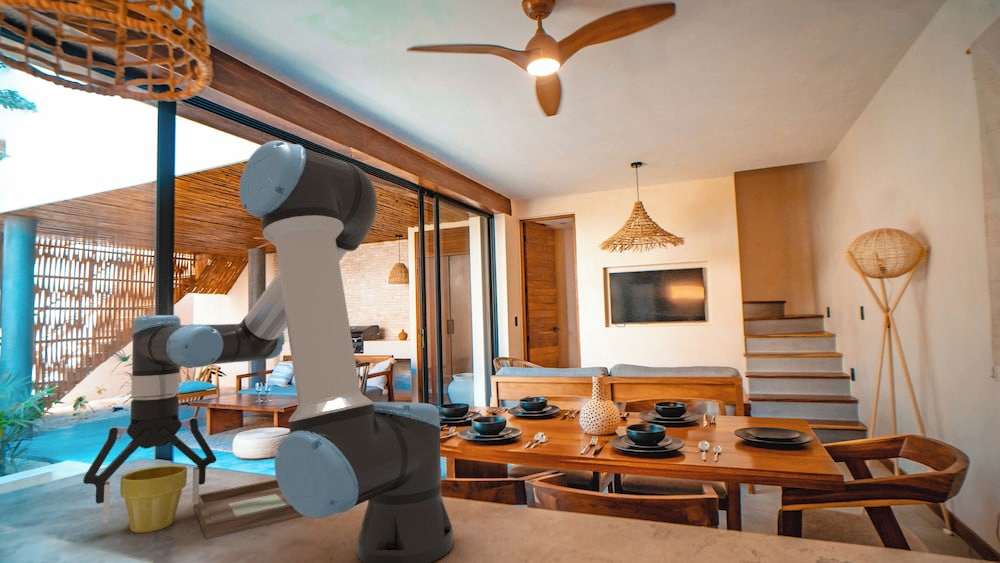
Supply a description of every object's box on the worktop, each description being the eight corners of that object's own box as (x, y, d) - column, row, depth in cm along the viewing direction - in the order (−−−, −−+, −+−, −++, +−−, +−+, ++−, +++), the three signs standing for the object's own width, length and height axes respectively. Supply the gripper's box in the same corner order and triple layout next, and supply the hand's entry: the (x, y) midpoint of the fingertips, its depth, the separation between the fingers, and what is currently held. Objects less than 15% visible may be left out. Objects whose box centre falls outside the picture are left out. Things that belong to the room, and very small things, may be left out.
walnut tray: (323, 510, 100) (323, 498, 100) (206, 539, 88) (206, 524, 88) (295, 486, 116) (295, 475, 116) (193, 507, 104) (193, 495, 104)
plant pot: (198, 515, 100) (199, 464, 100) (158, 537, 89) (159, 480, 90) (149, 515, 101) (150, 464, 101) (103, 537, 90) (105, 480, 91)
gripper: (226, 387, 107) (224, 490, 106) (70, 401, 92) (66, 521, 91) (232, 391, 101) (231, 500, 100) (67, 407, 86) (62, 535, 85)
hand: (152, 511), depth 95 cm, fingers open, 13 cm apart
